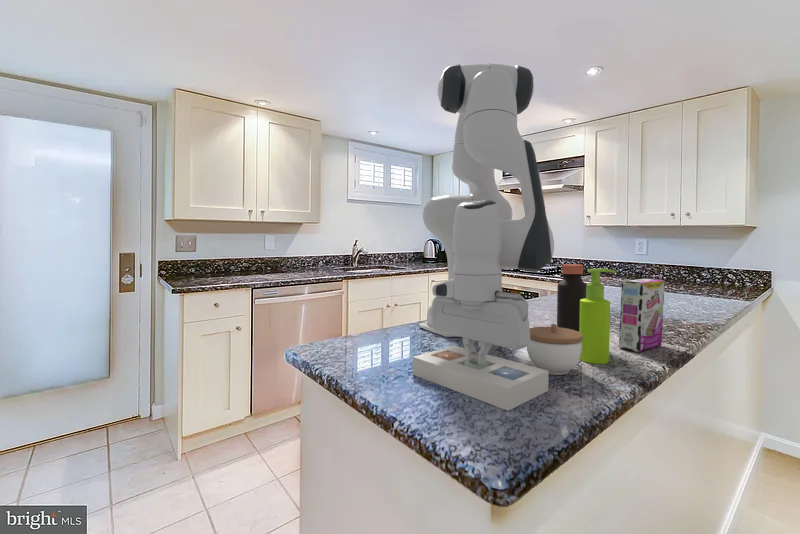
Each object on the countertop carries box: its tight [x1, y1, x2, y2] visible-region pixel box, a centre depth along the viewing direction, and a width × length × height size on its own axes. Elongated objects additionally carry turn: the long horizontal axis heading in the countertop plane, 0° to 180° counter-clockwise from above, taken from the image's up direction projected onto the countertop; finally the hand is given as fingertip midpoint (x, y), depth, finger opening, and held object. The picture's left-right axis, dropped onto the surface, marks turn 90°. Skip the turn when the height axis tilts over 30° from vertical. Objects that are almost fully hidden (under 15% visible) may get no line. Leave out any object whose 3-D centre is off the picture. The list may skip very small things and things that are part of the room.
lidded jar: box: [526, 323, 583, 376], centre depth 79 cm, size 11×11×9 cm
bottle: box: [556, 263, 587, 332], centre depth 98 cm, size 7×7×20 cm
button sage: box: [464, 360, 489, 370], centre depth 72 cm, size 4×4×3 cm
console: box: [412, 345, 549, 412], centre depth 72 cm, size 22×12×4 cm, turn 40°
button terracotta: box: [437, 352, 460, 361], centre depth 78 cm, size 4×4×3 cm
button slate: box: [496, 368, 522, 380], centre depth 67 cm, size 4×4×3 cm
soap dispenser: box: [579, 267, 618, 365], centre depth 84 cm, size 6×7×20 cm
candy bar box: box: [618, 278, 666, 353], centre depth 94 cm, size 11×5×16 cm, turn 123°
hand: (476, 363), depth 72 cm, fingers closed, pressing on button sage
